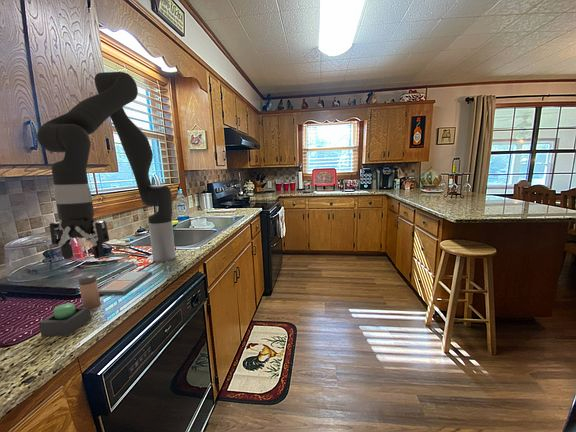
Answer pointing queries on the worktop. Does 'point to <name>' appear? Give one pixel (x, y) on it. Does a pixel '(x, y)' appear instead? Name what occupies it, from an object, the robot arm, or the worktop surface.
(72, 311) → the button
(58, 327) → the button housing
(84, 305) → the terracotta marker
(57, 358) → the worktop surface
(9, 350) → the worktop surface
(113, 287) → the picture board
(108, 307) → the worktop surface
